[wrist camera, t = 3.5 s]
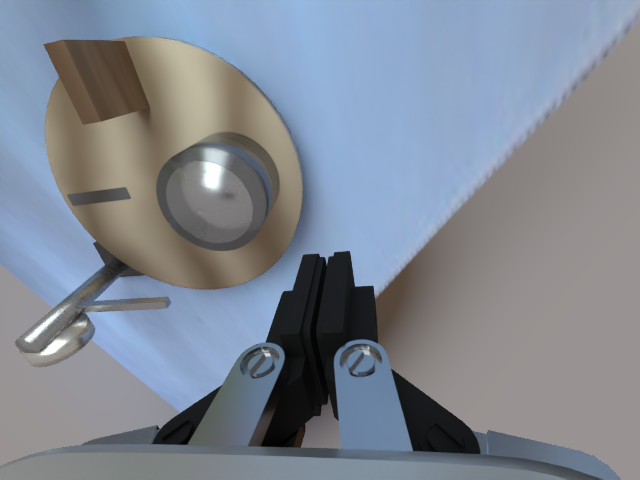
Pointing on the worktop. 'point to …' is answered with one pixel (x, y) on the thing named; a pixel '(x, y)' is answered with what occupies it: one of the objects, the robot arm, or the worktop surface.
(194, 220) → the cover
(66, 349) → the knob-topped metal post
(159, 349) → the worktop surface
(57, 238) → the worktop surface
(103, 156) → the turntable
